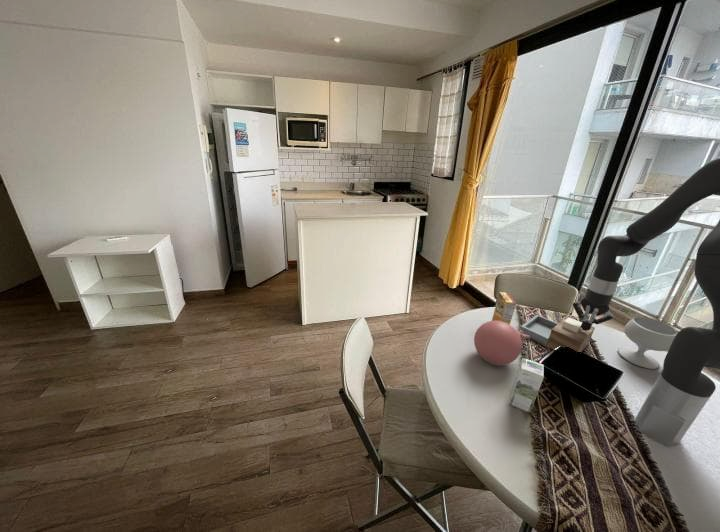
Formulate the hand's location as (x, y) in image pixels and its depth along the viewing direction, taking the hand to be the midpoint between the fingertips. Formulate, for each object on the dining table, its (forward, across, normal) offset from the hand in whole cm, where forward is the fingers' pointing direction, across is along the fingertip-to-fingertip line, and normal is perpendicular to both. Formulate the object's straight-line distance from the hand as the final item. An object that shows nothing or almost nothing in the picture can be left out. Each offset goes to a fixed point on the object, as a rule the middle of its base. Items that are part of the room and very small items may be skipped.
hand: (584, 329), depth 111 cm
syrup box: (+9, -1, -46) cm, 47 cm away
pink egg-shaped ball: (+9, -16, -32) cm, 37 cm away
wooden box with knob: (+9, -3, 0) cm, 10 cm away
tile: (+1, -4, 0) cm, 4 cm away
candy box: (+9, -26, -12) cm, 30 cm away
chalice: (+10, +16, +13) cm, 23 cm away
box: (+9, -14, 0) cm, 16 cm away
